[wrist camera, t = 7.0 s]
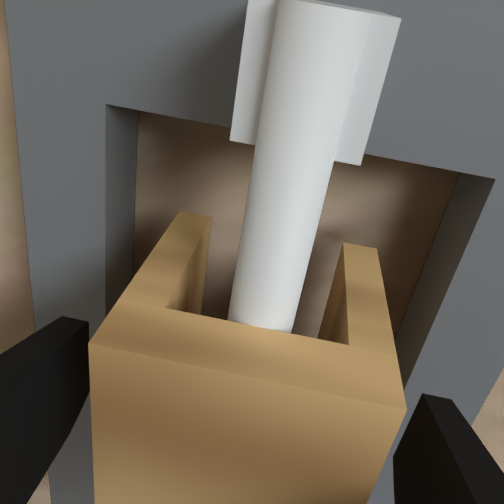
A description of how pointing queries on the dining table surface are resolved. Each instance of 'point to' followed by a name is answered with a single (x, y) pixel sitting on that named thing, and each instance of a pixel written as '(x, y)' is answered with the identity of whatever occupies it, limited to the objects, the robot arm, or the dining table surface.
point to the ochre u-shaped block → (240, 390)
